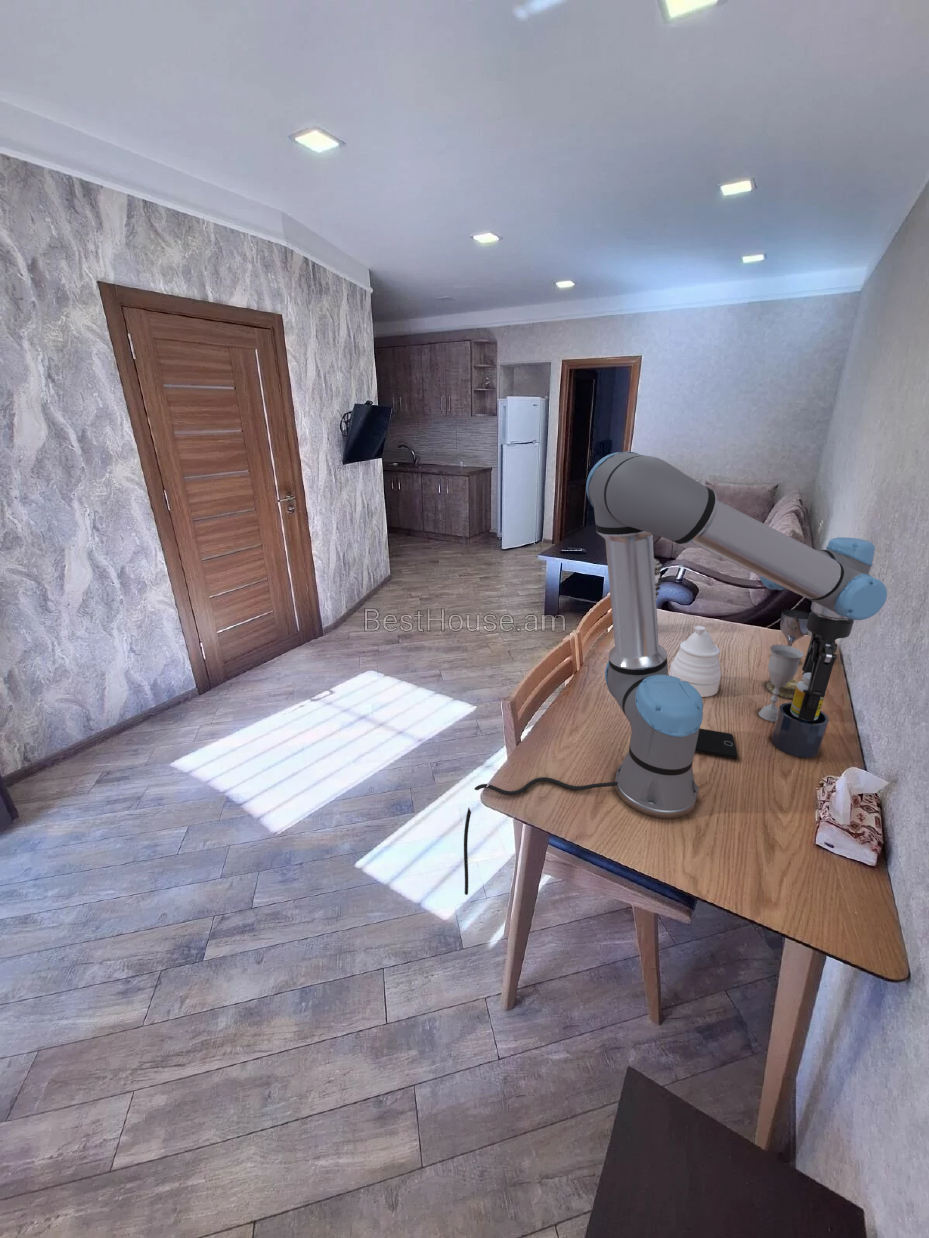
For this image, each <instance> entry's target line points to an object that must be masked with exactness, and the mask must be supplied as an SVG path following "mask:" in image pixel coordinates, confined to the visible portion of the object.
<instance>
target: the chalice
mask: <svg viewBox="0 0 929 1238" xmlns="http://www.w3.org/2000/svg"><path fill="white" fill-rule="evenodd" d="M769 647H770V648H769V649H770V652H771V653H770V657H769V660H768V665H767V668H768V675H769V679H770V678H771V682H772V684H773V685H775V689H774V691H772V692H773V693H772V692H771V693H772V696H771V697H770V698H769V699H770V704H766V705H764V706H763V707H762V708H761V709H760V710H759V711H758V716H759V717H760V718H762V719H763V720H766V721H768V722H774V723H775V721H776V718H777V714H778V710H779V707H777V706H776V703H777V702H778V701H779V699H778V696H779V695H778V694H780V693H779V688H780V687H784V686H785V685H786V684H787V683H788V682H789V681H790V680H791V679H792V678H794V677H795V675H796V674H797V671H798V668H799V665H800V661H801V659H802V658H803V657H804V652H803V651H802V650H800V649H798V648H797V647H794V646H787V645H786V644H772V645H771V646H769Z"/></svg>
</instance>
